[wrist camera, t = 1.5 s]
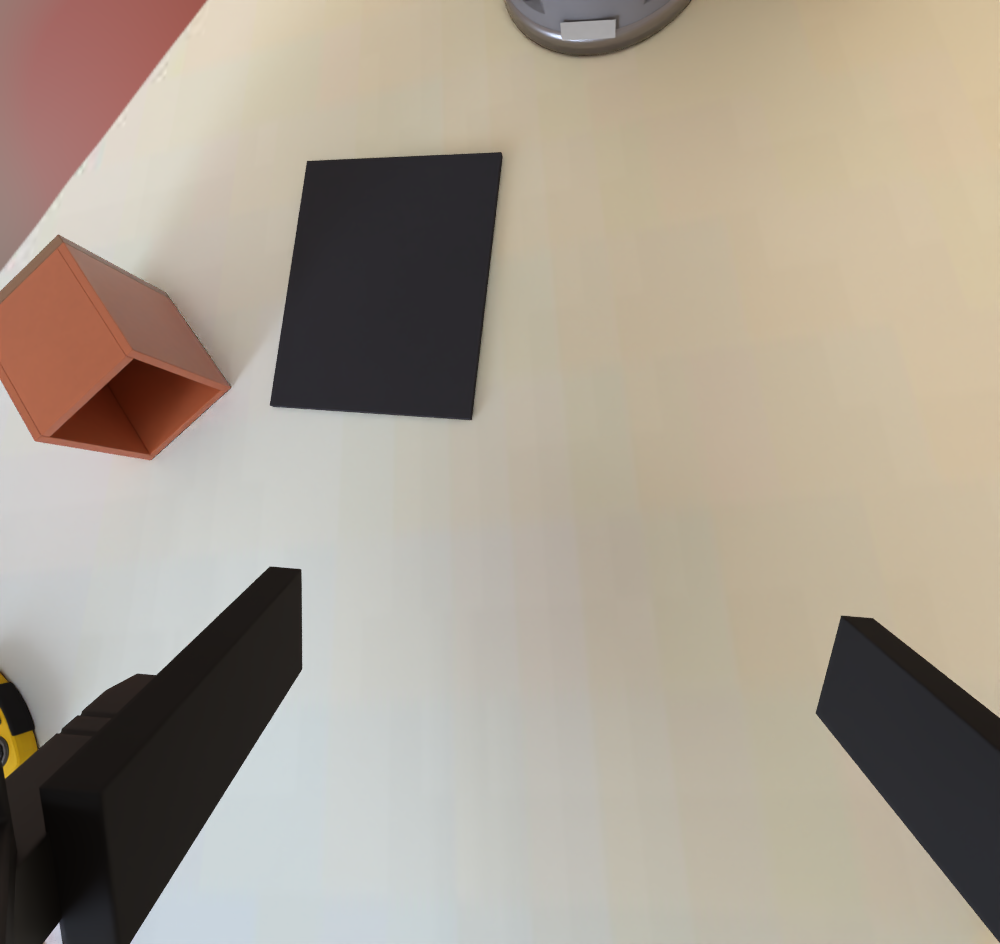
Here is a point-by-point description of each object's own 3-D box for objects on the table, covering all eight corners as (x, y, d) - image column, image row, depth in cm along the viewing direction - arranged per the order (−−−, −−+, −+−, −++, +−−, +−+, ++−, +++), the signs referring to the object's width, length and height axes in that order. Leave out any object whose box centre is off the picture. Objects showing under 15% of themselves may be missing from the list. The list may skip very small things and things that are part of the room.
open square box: (90, 362, 46) (-33, 322, 37) (165, 291, 45) (57, 233, 37) (150, 460, 44) (34, 441, 35) (231, 387, 43) (132, 349, 34)
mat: (309, 164, 44) (306, 160, 43) (502, 155, 40) (501, 151, 40) (272, 406, 42) (269, 405, 42) (471, 420, 38) (470, 419, 38)
